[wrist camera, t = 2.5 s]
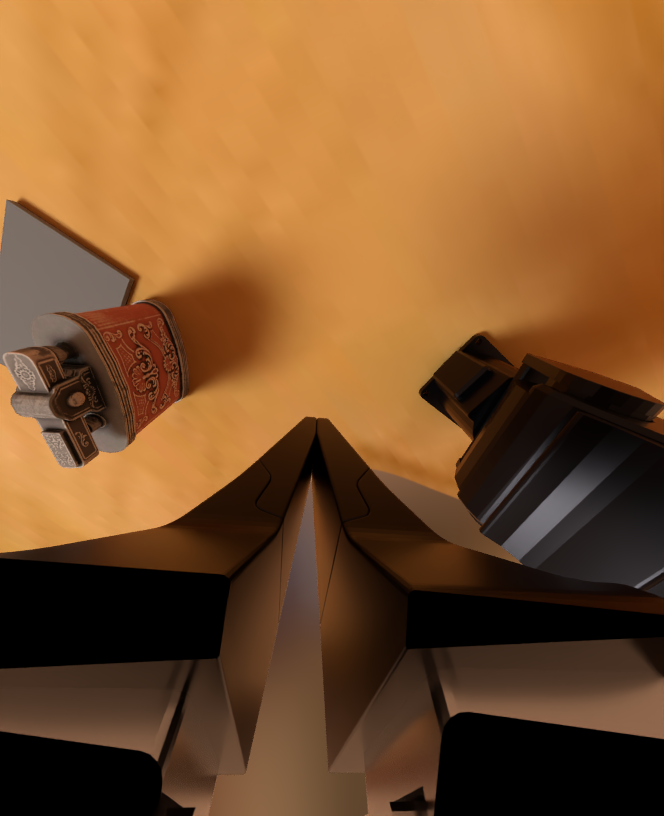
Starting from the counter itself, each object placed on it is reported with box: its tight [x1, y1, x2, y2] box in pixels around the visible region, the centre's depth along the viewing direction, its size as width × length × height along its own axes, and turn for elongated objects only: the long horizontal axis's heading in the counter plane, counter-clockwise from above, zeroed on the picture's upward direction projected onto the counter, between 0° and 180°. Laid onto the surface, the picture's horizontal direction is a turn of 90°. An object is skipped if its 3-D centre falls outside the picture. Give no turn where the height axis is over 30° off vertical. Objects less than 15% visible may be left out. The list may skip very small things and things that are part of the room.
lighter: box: [3, 299, 189, 468], centre depth 15 cm, size 8×3×10 cm, turn 175°
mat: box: [0, 200, 134, 367], centre depth 18 cm, size 7×12×1 cm, turn 143°
